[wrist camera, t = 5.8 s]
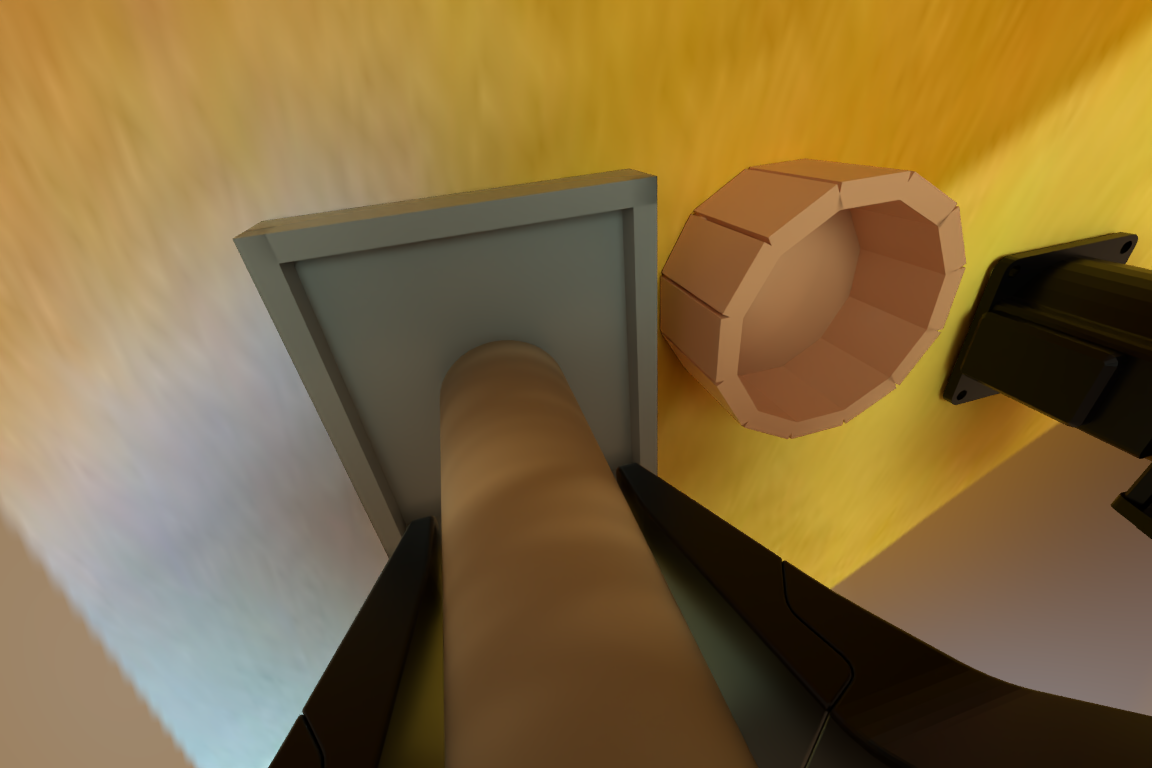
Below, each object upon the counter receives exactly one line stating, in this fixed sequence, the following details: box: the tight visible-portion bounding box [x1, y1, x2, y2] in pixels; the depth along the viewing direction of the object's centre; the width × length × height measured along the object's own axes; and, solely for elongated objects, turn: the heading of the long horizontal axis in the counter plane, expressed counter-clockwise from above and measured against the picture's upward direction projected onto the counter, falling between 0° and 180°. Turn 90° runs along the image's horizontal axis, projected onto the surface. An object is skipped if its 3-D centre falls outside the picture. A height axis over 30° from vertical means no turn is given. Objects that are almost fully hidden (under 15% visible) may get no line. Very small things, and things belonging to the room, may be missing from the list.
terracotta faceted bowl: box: [660, 159, 966, 439], centre depth 13 cm, size 7×7×4 cm
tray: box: [233, 169, 657, 559], centre depth 13 cm, size 9×10×2 cm
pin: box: [440, 340, 758, 768], centre depth 8 cm, size 3×3×10 cm
